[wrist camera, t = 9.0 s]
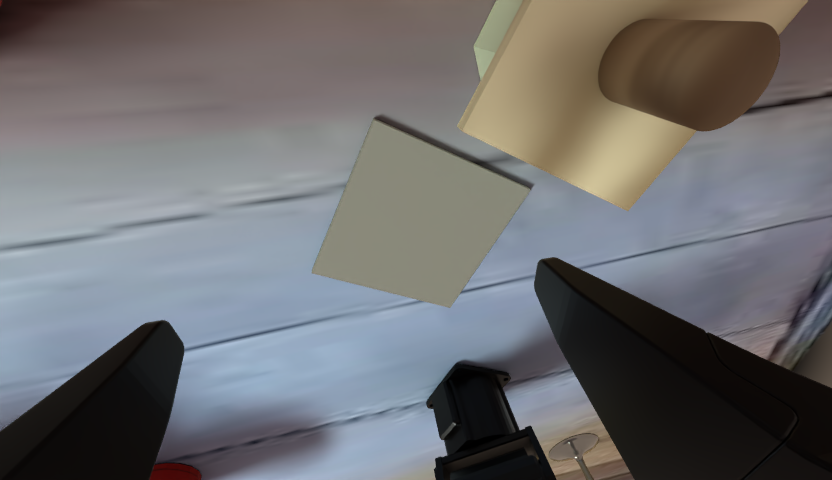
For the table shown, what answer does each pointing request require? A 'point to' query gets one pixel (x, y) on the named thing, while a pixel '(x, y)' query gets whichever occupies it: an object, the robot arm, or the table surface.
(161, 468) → the plastic cup
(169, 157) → the table surface
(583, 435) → the wine glass
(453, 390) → the robot arm
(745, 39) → the lid
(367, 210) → the mat
